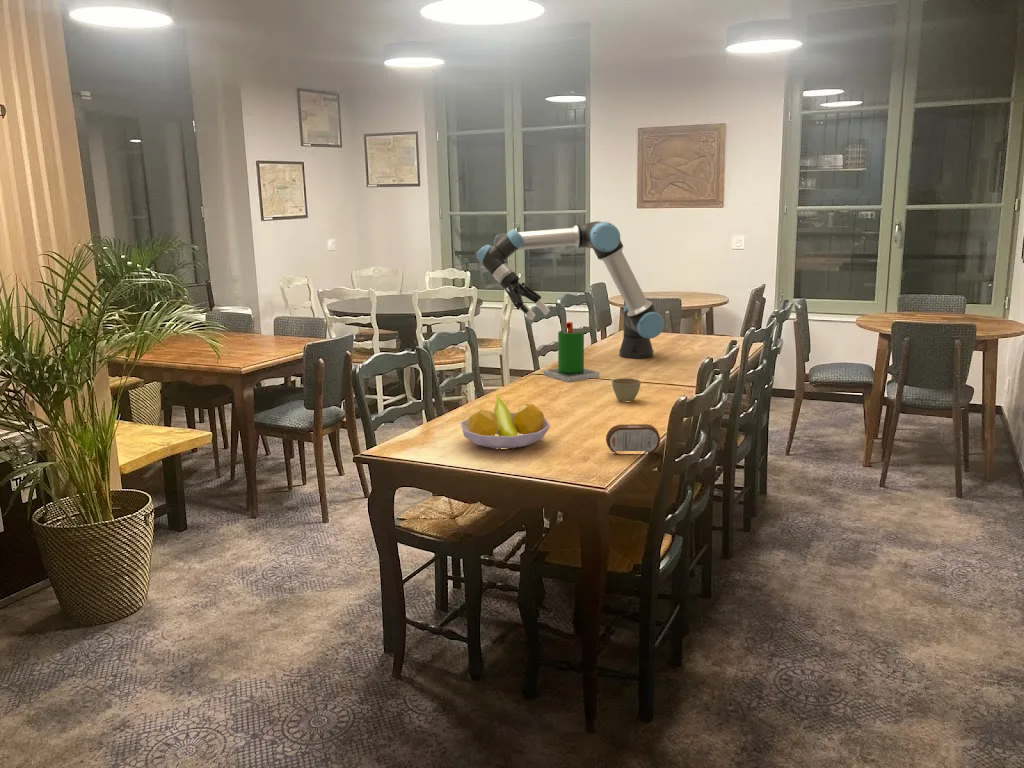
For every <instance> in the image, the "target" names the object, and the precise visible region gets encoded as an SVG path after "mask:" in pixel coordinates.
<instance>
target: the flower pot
mask: <svg viewBox="0 0 1024 768" xmlns="http://www.w3.org/2000/svg"><path fill="white" fill-rule="evenodd" d="M641 383H642V381H641V380H639V379H636V378H630V377H629V378H626V377H625V378H623V377H622V378H621V377H619V378H615V379H613V380H611V385H612V389H613V392H614V395H615V397H616V398H617V400H618V401H619V402H620V401H633V402H634V400H635V399H636V397H637V395H638V393H639V391H640V388H641Z"/></svg>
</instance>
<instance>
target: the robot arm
mask: <svg viewBox="0 0 1024 768" xmlns="http://www.w3.org/2000/svg"><path fill="white" fill-rule="evenodd" d="M493 243H494V245H491V244H486V245H484V246H482V247H481V248H480V249H479V250H478V251H477V253H476V258H477V260H478V261H479V262H480V264H481V265H482V266H483V267H484V268H485V269H486V270H487V271H488V272H489V274H491V276H492V277H493V278H494V280H495V281H497V282H498V283H500V284H499V285H500V286H501V287H502V288H503V289H504V291H505V292H506V294H507V295H508V297H509V298H510V301H511V302H512V304H513V306H514V307H515V308H516V309H517V310H521V311H522V312H523V314H524V315H525V316H526V317H527V318H528V319H529V320H530V321H533V320H534V318H535V317H536V314H535V313H534V312H533V310H532V309H531V308H530V307H529V306H528V305H527V304H526V303H524V301H523V297H525V298H527V299H529V300H530V301H531V302H533V303H534V304H535V306H536V307H537V308H538V309H539V310H540V311H541V312H542V313H543V315H544V316H548V314H549V313H550V312H551V310H550V309H549V307H547V306H546V304H545V303H544V302H543V300H541V299H542V296H541V295H540V294H538V293H537V292H536V291H534V289H532V288H531V287H529V286H528V285H527V284H526V283H525V282H519V280H520V277H519V276H518V274H516V272H514V271H513V269H512V268H511V267H510V266H509V264H507V262H506V261H507V259H508V258H509V257H510V256H512V254H514V253H515V252H516V251H521V250H534V249H535V250H537V249H548V248H559V247H573V246H574V247H575V248H577V249H579V248H589V249H593V251H594V253H595V255H596V256H597V259H598V260H600V261H602V262H603V263H604V265H605V266H606V268H607V270H608V272H609V274H610V276H611V278H612V280H613V282H614V284H615V287H616V288H617V290H618V292H619V294H620V296H621V299H622V300H623V302H624V304H625V305H624V306H623V337H622V342H621V346H620V349H619V356H620V357H621V358H627V359H648V358H652V357H654V349H653V345H652V342H651V339H655V338H656V337H658V336H660V334H661V333H662V332H663V330H664V327H665V320H664V318H663V316H662V315H661V314H660V313H659V312H658V311H657V310H656V308H655V306H654V304H653V301H651V300H647V298H646V296H645V294H644V292H643V291H642V288H641V286H640V283H638V280H637V278H636V277H635V274H634V273H633V271H632V269H631V266H630V265H629V262H628V261H627V259H626V257H625V255H624V253H623V249H624V245H623V243H622V240H621V233H620V231H619V229H618V227H617V226H615V225H614V224H612V223H611V222H610V221H609V222H608V221H599V220H598V221H592V222H591V221H590V222H587V223H581V224H574V225H573V227H565V228H564V227H563V228H562V227H561V228H553V229H551V228H550V229H541V230H529V231H517V230H516V228H513V229H510V230H509V231H508V232H500V233H498V234H497V235H495V238H494V239H493Z"/></svg>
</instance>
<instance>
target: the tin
mask: <svg viewBox="0 0 1024 768" xmlns="http://www.w3.org/2000/svg"><path fill="white" fill-rule="evenodd" d="M605 441H606V446H607V447H608V449H609V450H610V451H611V452H612V453H613V452H616V451H645V452H648V453H649V454H648V455H650V454H652V453H654V452H656V451H657V449H658V448H659V446H660V444H661V437H660V434H659V431H658V429H657V428H656V427H654V425H651V424H646V423H645V424H642V423H641V424H616V425H614V426H613V427H610V429H609V430H608V431H607V434H606V436H605Z"/></svg>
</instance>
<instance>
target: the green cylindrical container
mask: <svg viewBox="0 0 1024 768" xmlns="http://www.w3.org/2000/svg"><path fill="white" fill-rule="evenodd" d="M566 329H567V333H565V332H563V330H560V331H558V333H557V335H558V336H557V341H558V342H557V346H558V347H557V352H558V353H557V355H558V356H557V357H558V359H557V360H558V361H557V362H558V364H557V365H558V371H560V372H564V373H578V372H583V371H584V368H585V361H584V360H585V331H580V332H577V333H574V326H573V321H566Z"/></svg>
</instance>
